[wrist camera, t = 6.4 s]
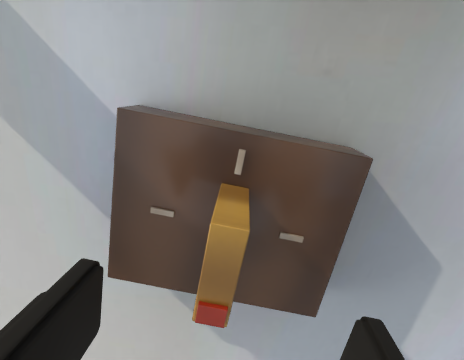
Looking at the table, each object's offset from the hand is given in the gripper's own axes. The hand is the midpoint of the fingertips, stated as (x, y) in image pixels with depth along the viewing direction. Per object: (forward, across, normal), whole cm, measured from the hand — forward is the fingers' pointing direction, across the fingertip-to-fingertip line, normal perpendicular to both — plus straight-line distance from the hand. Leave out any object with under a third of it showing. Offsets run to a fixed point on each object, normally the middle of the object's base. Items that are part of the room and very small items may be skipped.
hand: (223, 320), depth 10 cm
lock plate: (+10, +1, 0) cm, 10 cm away
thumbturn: (+7, +1, 0) cm, 7 cm away
